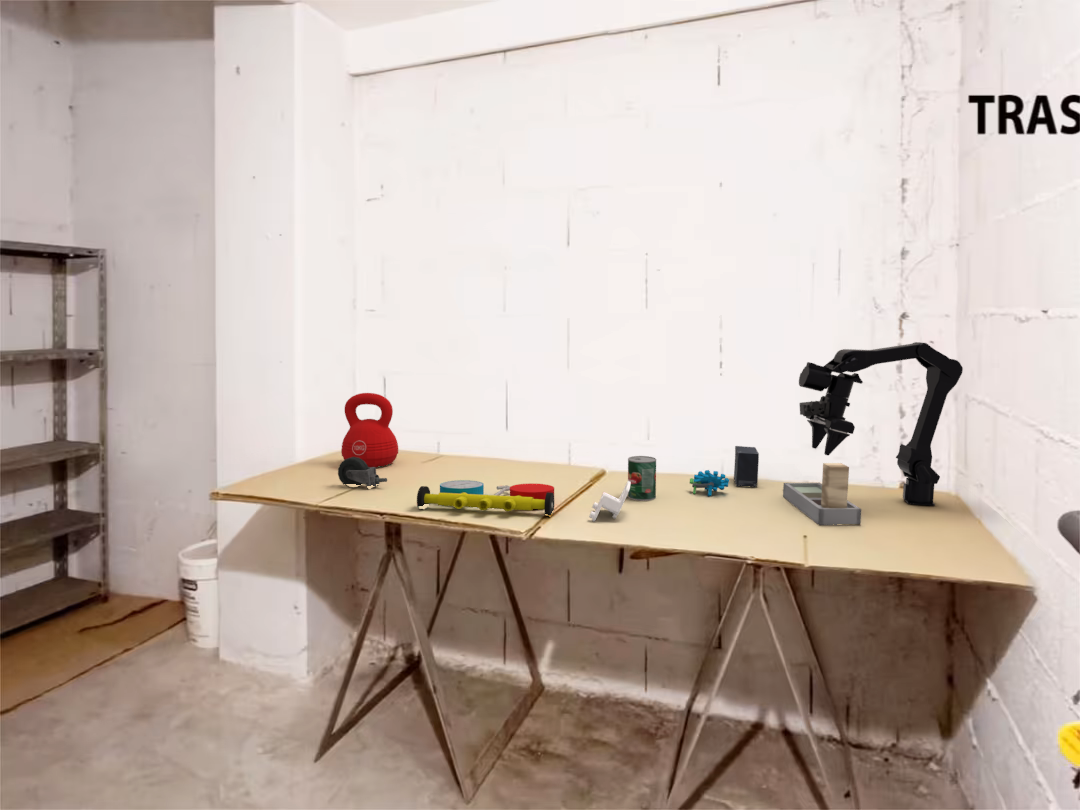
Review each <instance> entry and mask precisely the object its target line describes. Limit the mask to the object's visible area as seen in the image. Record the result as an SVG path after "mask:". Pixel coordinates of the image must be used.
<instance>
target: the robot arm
mask: <svg viewBox="0 0 1080 810" xmlns="http://www.w3.org/2000/svg"><path fill="white" fill-rule="evenodd" d="M912 359H915V360H916V361H917V362H918V363H919V364H920V365H921V366H922V367H923V368H925V370H926V373H925V380H926V388H927V389H926V392H925V393H926V394H925V396H924V400H923V403H922V406H921V409H920V412H919V414H918V417H917V421H916V424H915V427H914V430H913V433H912V437H911V439H910V441H908V442H907V443H906V445H905V444H902V443H900V445H899V449H898V450H899V451H898V453H897V455H896V456H895V459H897V462H896V463H897V466H898V467H899V470H900V471H902V474H903V476H904V477H905V478H906V479H905V483H903V490H902V498H903V500H904V501H905V502H906V503H907V504H908V505H916V506H917V505H919V506H929V507H930V506H931V507H932V506H935V505H936V504H935V502H934V496H935V495H934V494H935V492H934V491H935V485H937V484H938V482H939V480H940V478H941V476H940V475H939V474H938V473H937V472H936V471H935V470H934V469H933V467H932V461H933V454H932V443H933V439H934V436H935V433H936V429H937V427H938V424H939V421H940V417H941V415H942V412H943V409H944V406H945V402H946V401H947V400H946V399H947V396H948V394H949V393H950V392H951V391H952V390H953V389H954V387H956V385H957V384H958V382H959V380H960V378H961V376H962V374H963V370H964V368H963V366H962V364H961V362H960V361H958V360H957V359H953V358H949V357H948V356H946V355H945V354H943V353H942V352H940V351H938V350H936V349H934V348H933V347H932V346H930V344H928V343H927V342H917V341H914V342H912V343H907V344H900V345H893V346H888V347H881V348H873V349H856V348H855V349H852V348H850V349H849V348H847V349H846V348H844V349H843V348H842V349H840V350H838V351H837V352H836V353H835V355H834V357H833V358H832V359H831V360H830V361H828V362H827V363H826V364H825V365H823V366H822V365H819V364H816V363H815V362H814V363H813V362H809V361H807V362H806V365H805V366H804V367H803V369H802V371H801V372H800V374H799V377H798V385H799V387H800V388H801V387H802V388H805V389H809V390H813V391H817V392H823V391H824V390H826V393H825V394H824V395H822V396H820V399H819V400H815V401H814V400H811V401H804V402H799V415H800V416H803V417H805V419H807V420H806V421H807V422H808V424H809V425H810V427H811V447H812V449H815V450H816V449H817V448H818V447H819V446H820V444H821V442H822V441H823V439H825V437H826V442H825V446H824V455H825V456H830V455H831V454H832V453H833V452H834V451H835V449H837V447H839V446H840V444H841V443H842V442H843V441H844V440H846V439H847V438H848V437H850V435H854V432H855V429H856V427H855V425H854V424H853V422H852V421H848V420H846V417H845V416H844V415H845V411H846V408H847V407H848V408H849V407H850V406H851V402H849V399H850V396H851V393H852V390H853V387H854V384H855V383H857V384H863V383H864V382H863V380H862V379H861V377H860V375H859V373H856V372H859V371H862V370H865V369H868V368H870V367H872V366H875V365H879V364H880V365H881V364H886V363H893V362H899V361H900V362H901V361H906V360H912ZM847 372H848V373H852V374H848V373H847ZM832 373H837V375H836V374H835V375H834V374H832Z"/></svg>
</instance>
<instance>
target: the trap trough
mask: <svg viewBox="0 0 1080 810" xmlns="http://www.w3.org/2000/svg"><path fill="white" fill-rule="evenodd" d="M782 486H783V487H782V488H783V489H782V497H783V498H784V499H785V500H786V501H788V502H789V503H791V504H792V506H794V507H796V508H797V509H798V510H799V511H801V512H802V513H803V514H804V515H805V516H807V517H809V518H810V519H811V520H812V521H813V522H814V523H816V524H817V525H818V524H819V525H818V526H838V525H837V524H861V523H862V508H860V507H859V506H857V505H856V504H854V503H852V502H851V501H849V500H848V499H847V508H823V507H822V506H821V496H822V482H783V485H782ZM833 524H834V525H833Z"/></svg>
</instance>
